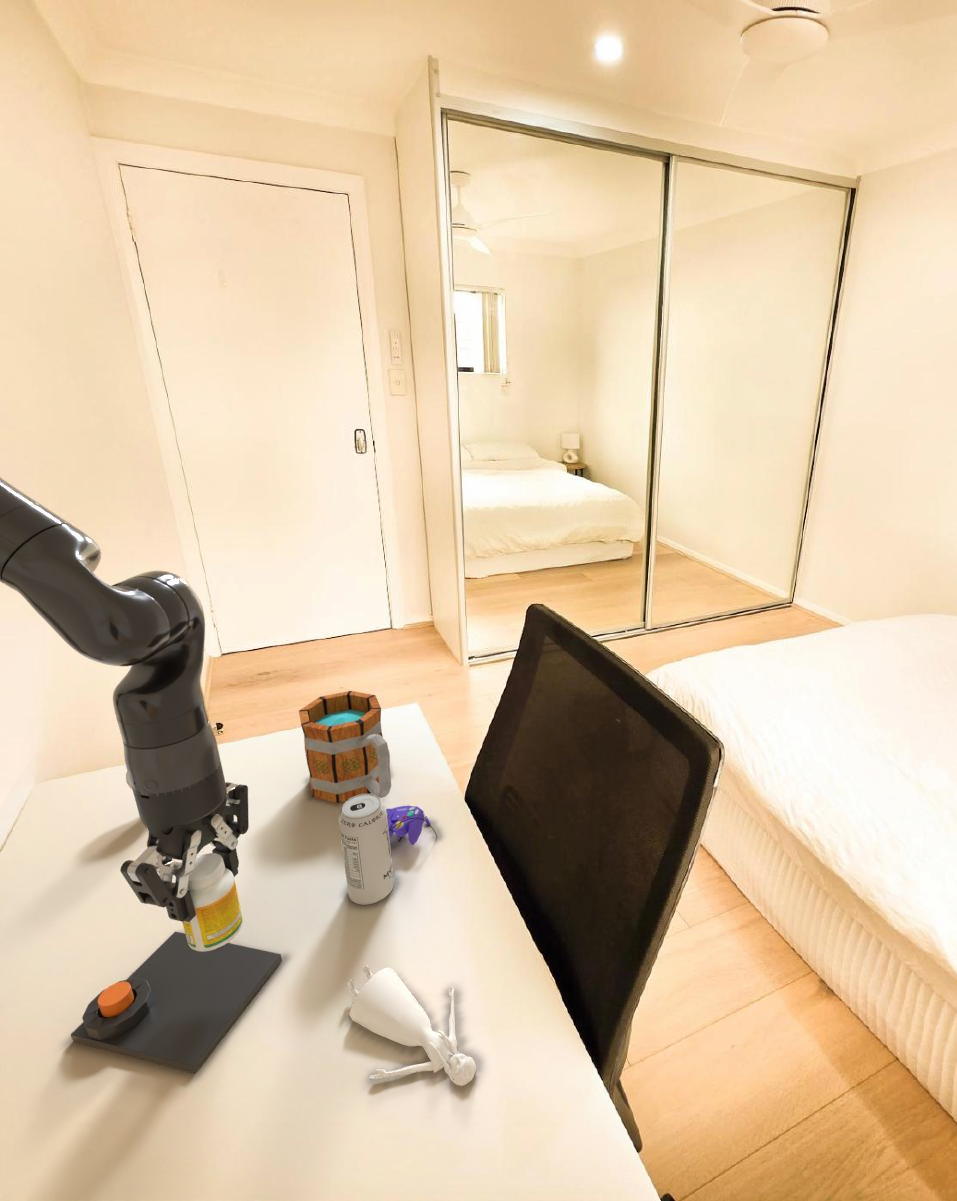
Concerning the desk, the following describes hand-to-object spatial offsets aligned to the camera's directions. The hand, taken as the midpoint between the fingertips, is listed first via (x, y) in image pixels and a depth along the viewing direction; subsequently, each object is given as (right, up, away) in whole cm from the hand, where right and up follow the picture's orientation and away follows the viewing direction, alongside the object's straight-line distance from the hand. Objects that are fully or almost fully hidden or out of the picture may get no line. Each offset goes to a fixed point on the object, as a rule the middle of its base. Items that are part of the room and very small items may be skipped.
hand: (207, 895), depth 65 cm
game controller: (+12, -5, +28) cm, 31 cm away
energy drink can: (+11, -9, +18) cm, 23 cm away
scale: (-4, -14, +2) cm, 14 cm away
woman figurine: (+23, -16, 0) cm, 28 cm away
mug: (+1, -1, +39) cm, 39 cm away
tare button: (-9, -11, -1) cm, 14 cm away
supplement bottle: (0, -5, +2) cm, 6 cm away
